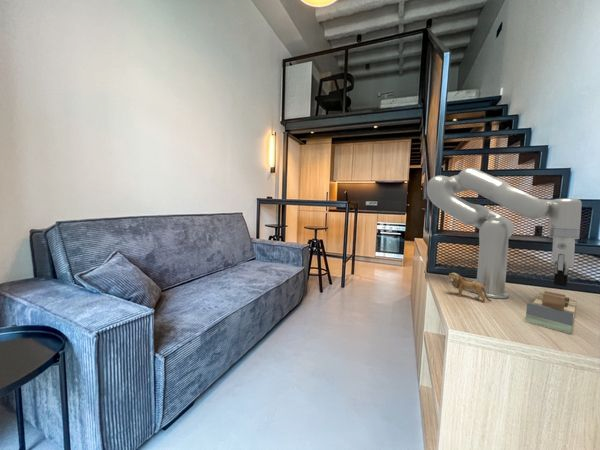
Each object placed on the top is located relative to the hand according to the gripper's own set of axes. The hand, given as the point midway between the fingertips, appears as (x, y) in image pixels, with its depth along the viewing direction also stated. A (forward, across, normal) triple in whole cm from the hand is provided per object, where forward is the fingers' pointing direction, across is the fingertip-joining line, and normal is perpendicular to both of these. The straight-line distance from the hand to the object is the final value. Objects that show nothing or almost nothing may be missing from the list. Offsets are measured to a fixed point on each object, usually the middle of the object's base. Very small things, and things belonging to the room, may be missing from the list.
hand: (560, 285), depth 91 cm
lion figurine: (+8, -13, +25) cm, 30 cm away
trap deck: (+9, -7, +1) cm, 11 cm away
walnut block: (+6, -8, +1) cm, 10 cm away
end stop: (+6, -22, +1) cm, 23 cm away
